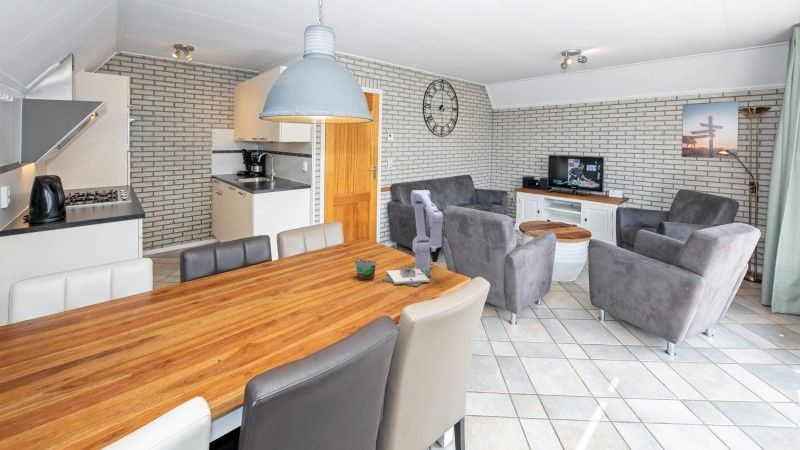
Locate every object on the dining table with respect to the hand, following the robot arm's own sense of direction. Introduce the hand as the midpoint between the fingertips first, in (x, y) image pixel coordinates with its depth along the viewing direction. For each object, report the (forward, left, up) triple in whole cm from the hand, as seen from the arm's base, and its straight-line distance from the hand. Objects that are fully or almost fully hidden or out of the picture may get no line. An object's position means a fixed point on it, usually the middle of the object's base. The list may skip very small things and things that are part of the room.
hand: (434, 261), depth 209 cm
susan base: (+5, -13, -10) cm, 17 cm away
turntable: (+4, -12, -9) cm, 15 cm away
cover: (+5, -13, -8) cm, 16 cm away
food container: (+16, -33, -10) cm, 38 cm away
